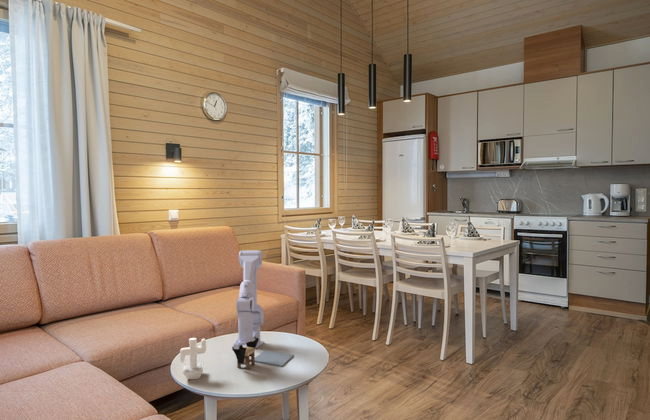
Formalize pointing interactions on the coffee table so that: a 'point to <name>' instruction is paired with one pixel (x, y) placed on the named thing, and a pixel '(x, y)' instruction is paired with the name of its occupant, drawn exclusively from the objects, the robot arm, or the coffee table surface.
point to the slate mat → (273, 358)
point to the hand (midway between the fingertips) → (246, 359)
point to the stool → (246, 358)
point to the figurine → (193, 359)
